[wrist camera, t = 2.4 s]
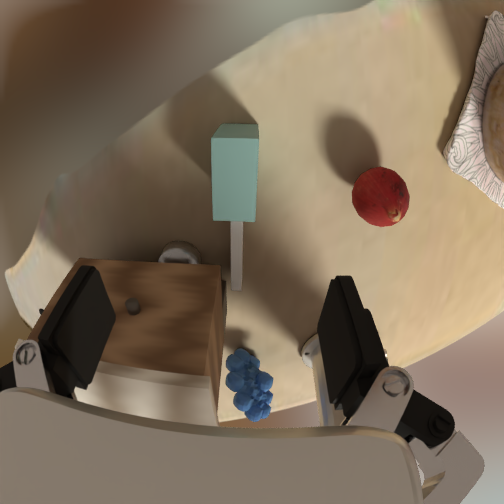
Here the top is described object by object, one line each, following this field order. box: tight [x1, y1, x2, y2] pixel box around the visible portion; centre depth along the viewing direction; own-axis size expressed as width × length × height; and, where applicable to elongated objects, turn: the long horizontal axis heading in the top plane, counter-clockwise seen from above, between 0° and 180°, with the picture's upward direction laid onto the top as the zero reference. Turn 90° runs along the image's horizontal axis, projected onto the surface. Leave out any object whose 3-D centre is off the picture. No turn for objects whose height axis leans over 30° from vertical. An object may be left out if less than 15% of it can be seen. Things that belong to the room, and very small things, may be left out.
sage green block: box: [211, 124, 259, 291], centre depth 28 cm, size 4×18×7 cm, turn 178°
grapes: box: [226, 348, 273, 422], centre depth 41 cm, size 12×7×12 cm, turn 34°
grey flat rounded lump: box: [158, 241, 201, 264], centre depth 33 cm, size 5×5×2 cm
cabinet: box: [15, 258, 227, 427], centre depth 28 cm, size 18×14×19 cm
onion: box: [352, 167, 410, 227], centre depth 25 cm, size 6×6×8 cm
